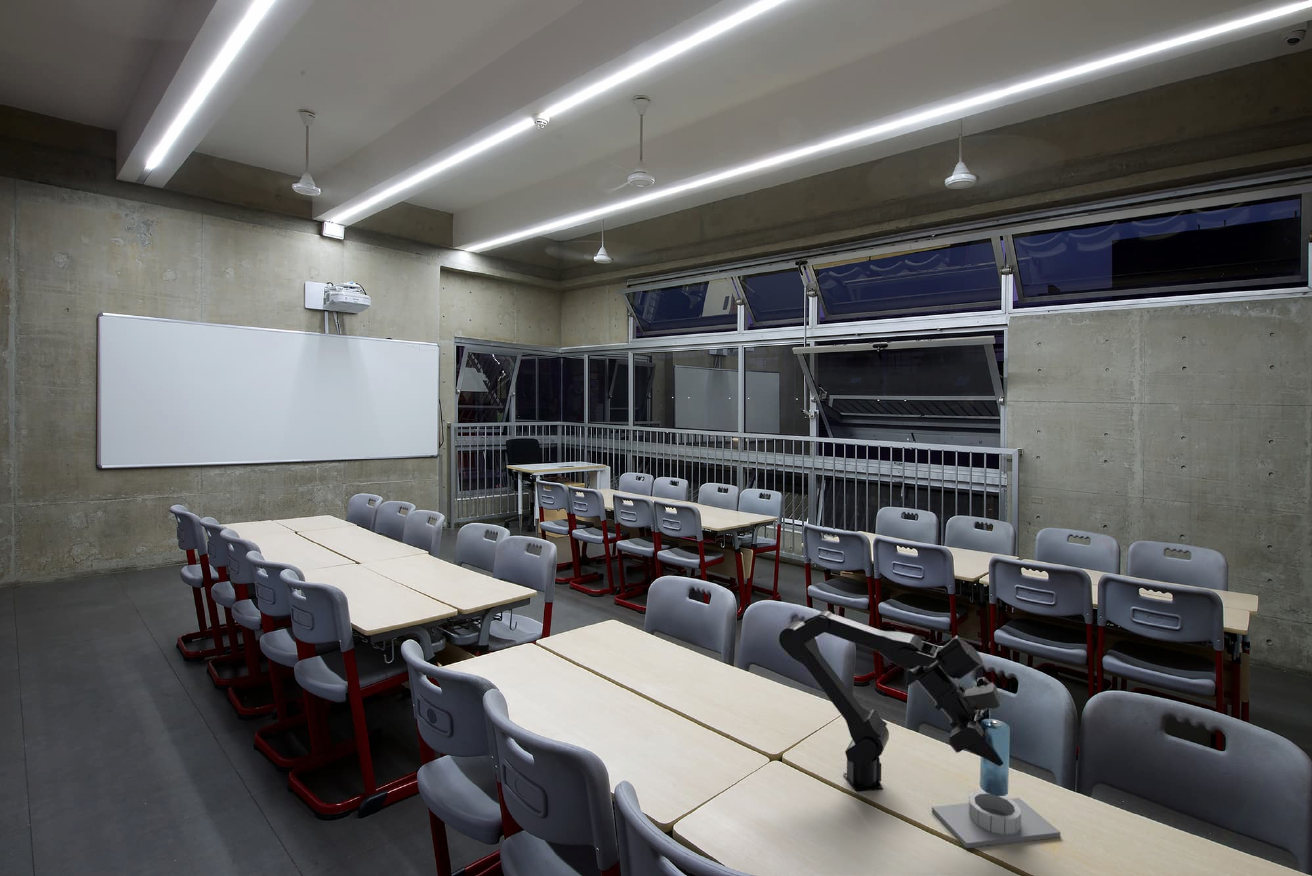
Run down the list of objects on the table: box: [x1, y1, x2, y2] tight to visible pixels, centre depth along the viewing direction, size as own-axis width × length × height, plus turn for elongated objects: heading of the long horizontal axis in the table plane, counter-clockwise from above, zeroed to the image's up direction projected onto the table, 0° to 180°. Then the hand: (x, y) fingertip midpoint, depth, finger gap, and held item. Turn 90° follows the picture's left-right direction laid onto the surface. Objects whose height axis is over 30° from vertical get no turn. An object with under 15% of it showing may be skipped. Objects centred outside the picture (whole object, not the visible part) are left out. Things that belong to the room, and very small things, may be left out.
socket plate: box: [931, 790, 1061, 849], centre depth 124 cm, size 20×11×4 cm, turn 99°
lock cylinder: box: [979, 718, 1011, 796], centre depth 124 cm, size 5×5×14 cm
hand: (1002, 758), depth 123 cm, fingers closed on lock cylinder, 5 cm apart
